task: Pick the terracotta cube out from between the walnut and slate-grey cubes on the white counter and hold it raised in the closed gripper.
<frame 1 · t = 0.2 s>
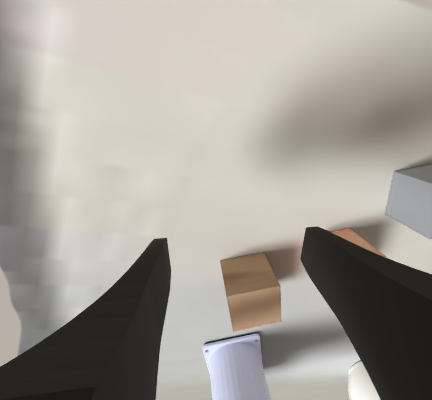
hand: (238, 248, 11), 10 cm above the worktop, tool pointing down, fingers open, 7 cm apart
terracotta cube: (326, 249, 25), on the worktop
slate cube: (410, 189, 23), on the worktop
walnut cube: (243, 272, 25), on the worktop
lidded jar: (363, 366, 37), on the worktop
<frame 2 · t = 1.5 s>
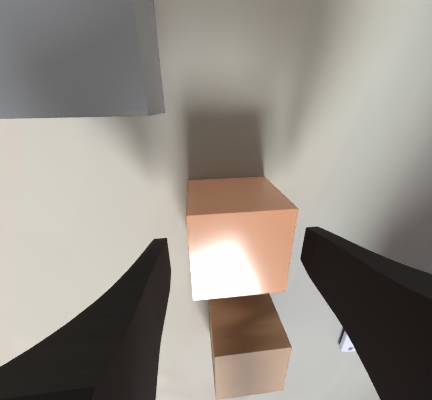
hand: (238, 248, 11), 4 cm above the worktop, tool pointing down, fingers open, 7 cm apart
terracotta cube: (226, 211, 15), on the worktop
slate cube: (109, 60, 11), on the worktop
walnut cube: (237, 310, 19), on the worktop
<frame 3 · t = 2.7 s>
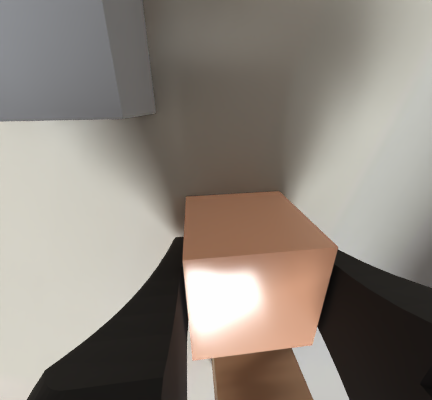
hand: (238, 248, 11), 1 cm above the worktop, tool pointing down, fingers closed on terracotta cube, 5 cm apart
terracotta cube: (232, 233, 12), on the worktop, touching gripper
slate cube: (81, 43, 8), on the worktop
walnut cube: (243, 341, 16), on the worktop
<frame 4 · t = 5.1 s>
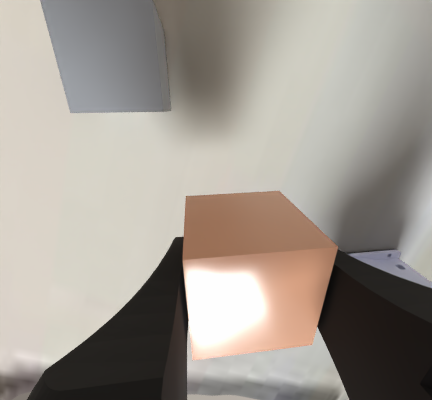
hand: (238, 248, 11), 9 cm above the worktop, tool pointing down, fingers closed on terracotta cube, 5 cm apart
terracotta cube: (232, 233, 12), point 8 cm above the worktop, touching gripper
slate cube: (132, 73, 15), on the worktop
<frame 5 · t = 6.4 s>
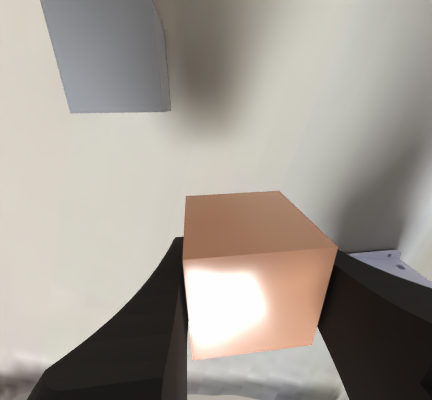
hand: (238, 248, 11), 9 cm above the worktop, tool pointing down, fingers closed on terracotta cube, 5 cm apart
terracotta cube: (232, 233, 12), point 8 cm above the worktop, touching gripper
slate cube: (132, 73, 15), on the worktop
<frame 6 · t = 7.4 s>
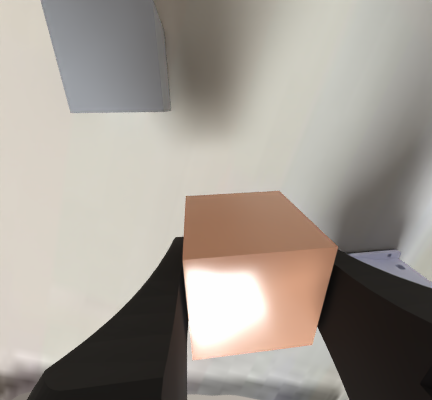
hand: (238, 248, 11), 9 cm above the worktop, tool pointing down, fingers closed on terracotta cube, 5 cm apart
terracotta cube: (232, 233, 12), point 8 cm above the worktop, touching gripper
slate cube: (132, 73, 15), on the worktop
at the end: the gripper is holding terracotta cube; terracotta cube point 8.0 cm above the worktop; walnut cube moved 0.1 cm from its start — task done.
